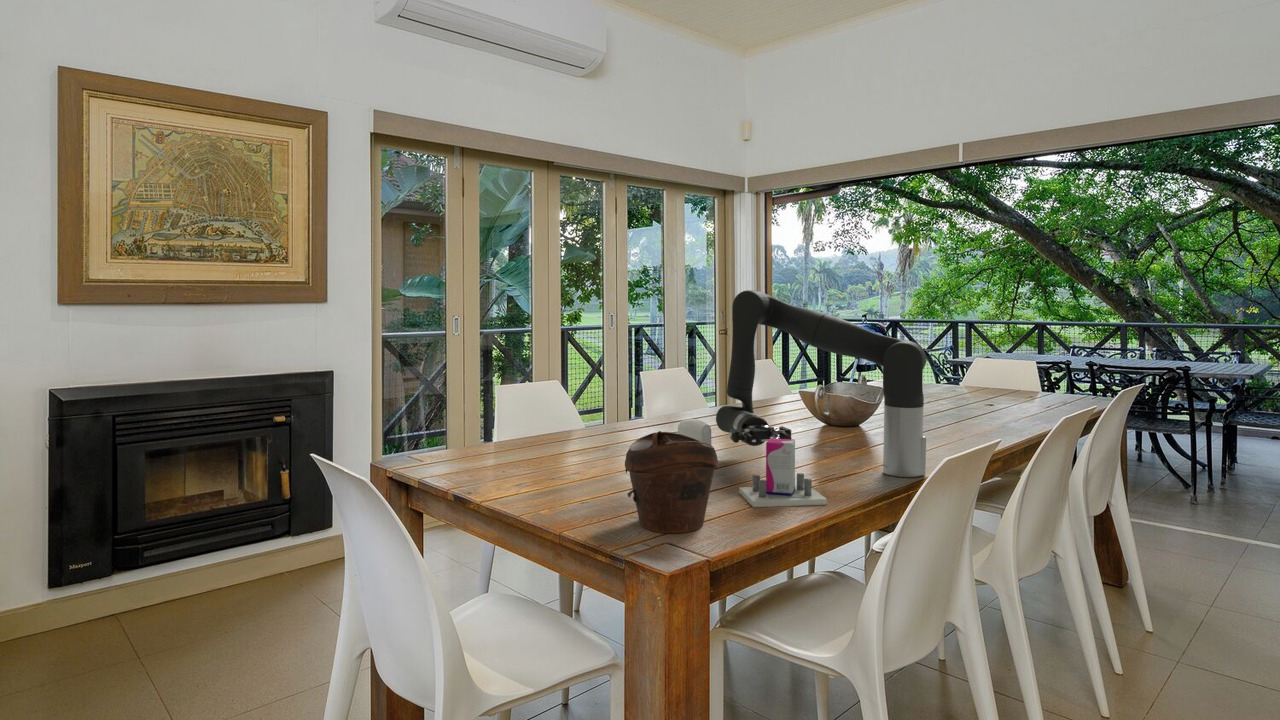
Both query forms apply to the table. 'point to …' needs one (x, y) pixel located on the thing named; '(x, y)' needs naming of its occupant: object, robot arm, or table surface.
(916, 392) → the robot arm
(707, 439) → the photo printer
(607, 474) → the table surface
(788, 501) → the grey peg board
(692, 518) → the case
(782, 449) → the supplement box
